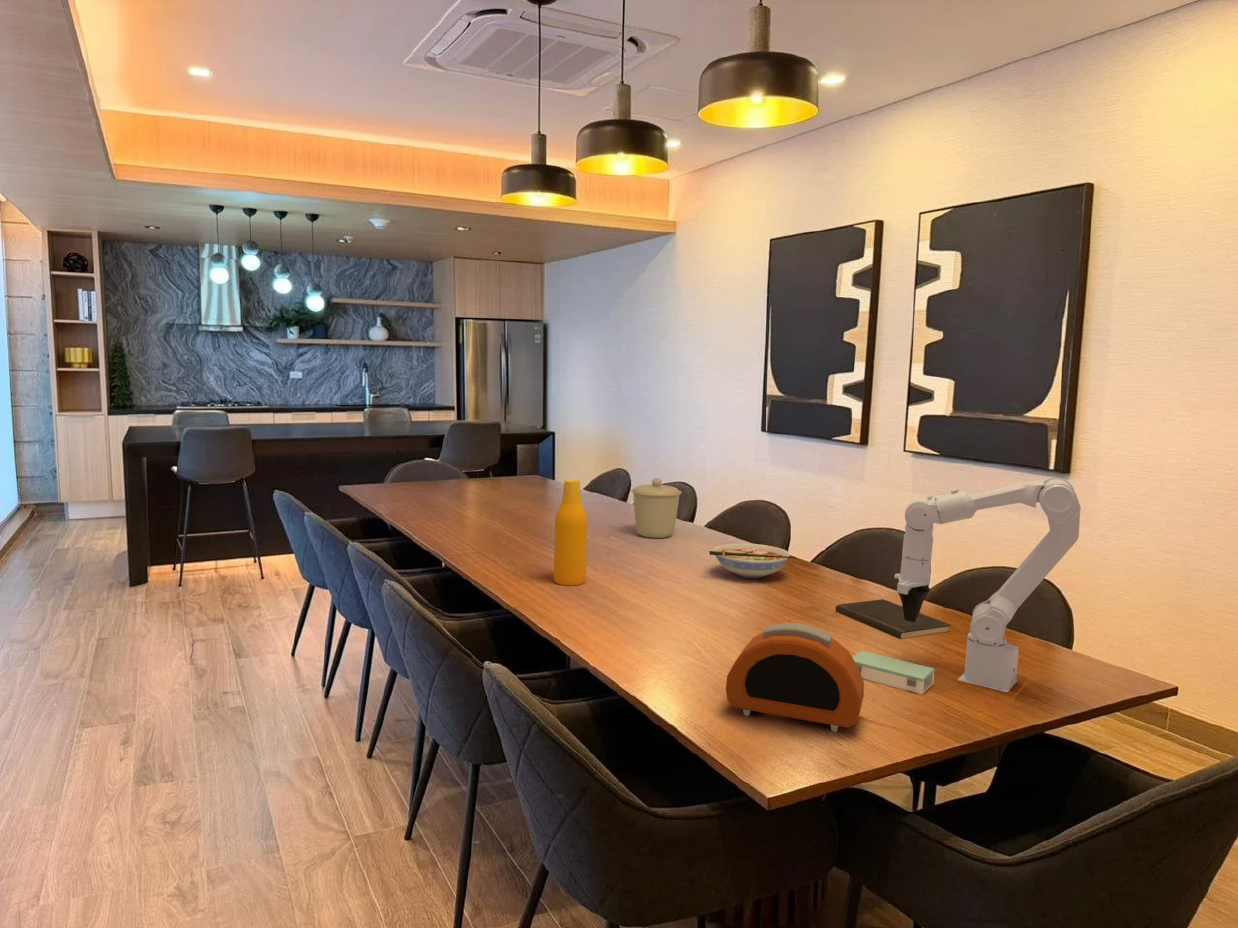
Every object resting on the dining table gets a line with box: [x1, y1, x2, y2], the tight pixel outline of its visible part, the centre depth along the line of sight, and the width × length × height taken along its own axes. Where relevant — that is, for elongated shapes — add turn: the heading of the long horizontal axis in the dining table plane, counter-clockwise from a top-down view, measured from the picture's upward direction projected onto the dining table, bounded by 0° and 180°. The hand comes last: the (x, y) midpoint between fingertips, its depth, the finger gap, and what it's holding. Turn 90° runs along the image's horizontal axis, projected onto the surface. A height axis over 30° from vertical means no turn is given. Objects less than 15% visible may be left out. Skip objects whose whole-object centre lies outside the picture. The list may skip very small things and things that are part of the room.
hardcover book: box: [835, 598, 952, 640], centre depth 207 cm, size 16×23×2 cm
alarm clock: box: [725, 622, 865, 733], centre depth 148 cm, size 23×9×17 cm, turn 69°
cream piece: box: [857, 665, 935, 695], centre depth 166 cm, size 15×8×3 cm, turn 52°
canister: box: [631, 477, 682, 539], centre depth 300 cm, size 18×18×21 cm
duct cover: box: [852, 650, 935, 682], centre depth 166 cm, size 15×7×1 cm, turn 52°
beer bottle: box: [553, 479, 588, 587], centre depth 233 cm, size 9×9×29 cm
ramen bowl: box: [708, 542, 797, 579], centre depth 247 cm, size 25×23×8 cm
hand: (910, 620), depth 173 cm, fingers closed
